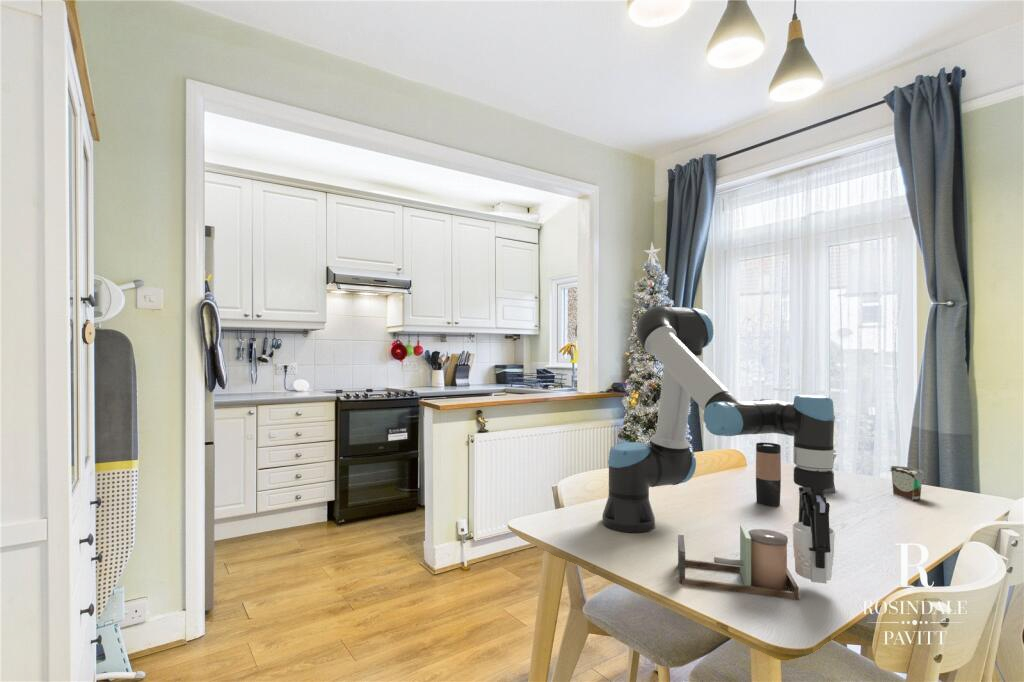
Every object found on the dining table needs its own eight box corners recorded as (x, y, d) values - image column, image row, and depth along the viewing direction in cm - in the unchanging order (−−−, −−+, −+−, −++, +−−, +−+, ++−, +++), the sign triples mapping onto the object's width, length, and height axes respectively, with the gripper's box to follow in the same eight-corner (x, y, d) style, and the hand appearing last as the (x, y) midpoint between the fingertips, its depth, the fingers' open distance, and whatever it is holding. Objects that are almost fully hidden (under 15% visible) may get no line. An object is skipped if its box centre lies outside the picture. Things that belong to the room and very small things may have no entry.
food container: (933, 502, 178) (933, 473, 178) (915, 502, 178) (915, 473, 178) (907, 493, 190) (907, 465, 191) (890, 492, 191) (890, 465, 191)
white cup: (841, 584, 106) (841, 536, 106) (799, 580, 108) (799, 532, 108) (825, 569, 114) (826, 523, 114) (787, 565, 116) (787, 520, 116)
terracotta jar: (751, 589, 111) (751, 539, 111) (745, 575, 118) (745, 527, 118) (791, 595, 108) (791, 543, 109) (783, 579, 116) (783, 531, 116)
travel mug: (781, 502, 176) (781, 443, 177) (779, 508, 170) (779, 447, 170) (757, 498, 180) (757, 441, 181) (754, 504, 174) (754, 444, 174)
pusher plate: (715, 584, 112) (716, 534, 112) (712, 568, 121) (712, 522, 121) (751, 589, 110) (751, 538, 110) (744, 572, 119) (744, 525, 119)
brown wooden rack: (679, 584, 113) (679, 551, 113) (678, 563, 124) (678, 534, 124) (798, 599, 106) (798, 565, 106) (785, 576, 117) (785, 545, 118)
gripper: (849, 479, 100) (849, 598, 100) (819, 459, 120) (819, 558, 120) (806, 476, 103) (806, 592, 102) (783, 456, 122) (783, 554, 122)
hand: (813, 573), depth 111 cm, fingers closed on white cup, 7 cm apart
